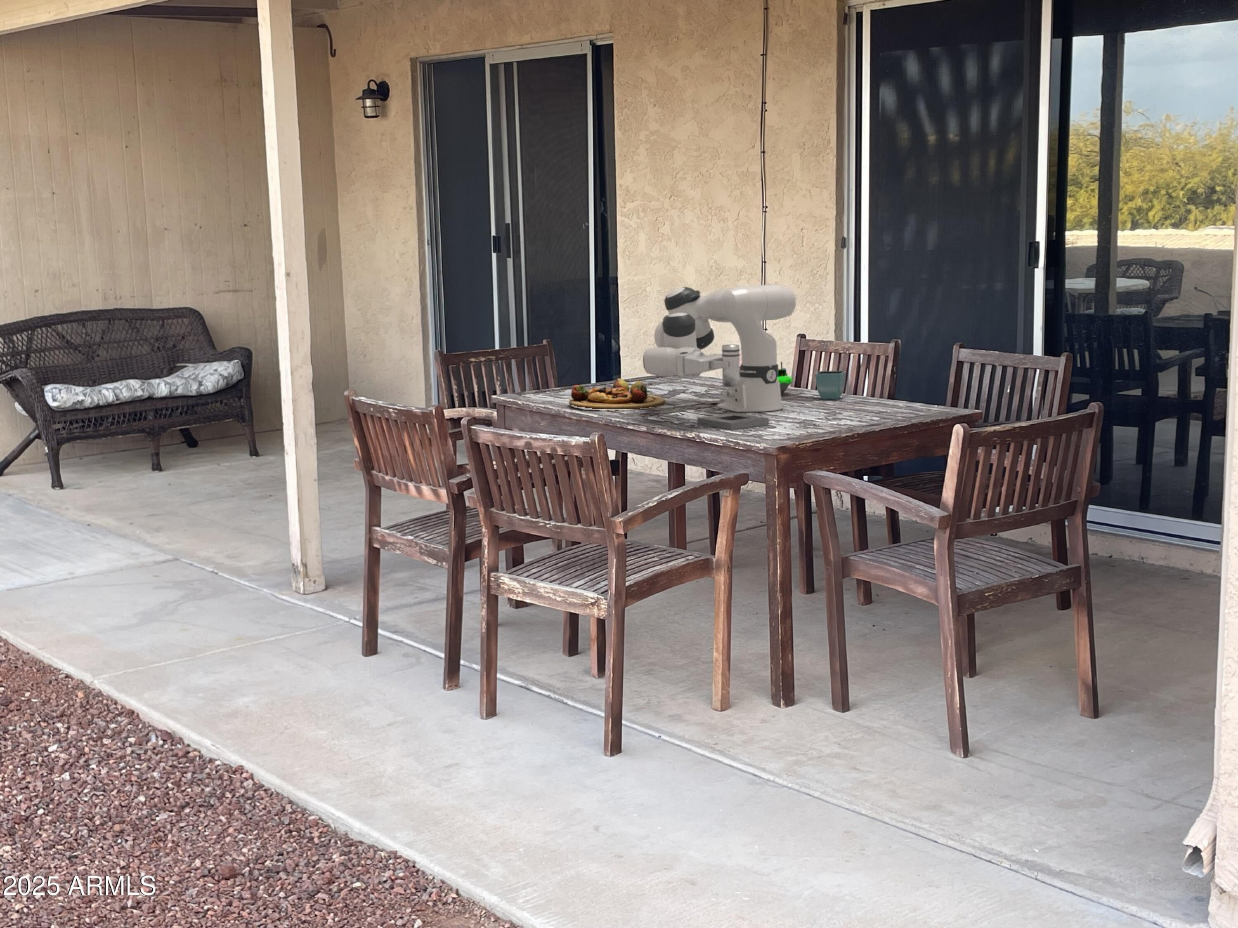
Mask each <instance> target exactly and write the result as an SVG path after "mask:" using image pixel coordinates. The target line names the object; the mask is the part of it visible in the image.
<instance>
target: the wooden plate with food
mask: <svg viewBox="0 0 1238 928" xmlns="http://www.w3.org/2000/svg"><path fill="white" fill-rule="evenodd" d="M570 392H571V393H570V394H571V399H570V400H569V401H568V404H570V405H574V406H577V407H585V408H592V409H640V408H649V407H655V408H658V406H659V407H661V405H662V406H663V405H665V403H666V401H665V398H663V397H662V396H658V395H653V394H649V393H648V389H647V386H646V385H645V383H643V382H642V381H640V380H636V382H633V383H632V385H631V386H629V384H628V383H627V381H625V380H623V379H622V378H617V379H616V380H615V381H614V382H613V384H612V388H607V387H602V388H599V387H594V388H591V389H589V390H588V389H587V388H586V387H585V386H583V385H581V384H580V385H579V384H575V385H574V386H573V387H572V389H571V391H570ZM570 405H569V406H570ZM649 409H650V408H649Z"/></svg>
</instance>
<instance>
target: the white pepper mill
mask: <svg viewBox="0 0 1238 928" xmlns="http://www.w3.org/2000/svg"><path fill="white" fill-rule="evenodd" d="M721 346H722V347H721V354H722V361H729V363H730V364H729V365H730V366H729V367H728V368H721V369H722V387H723V388H727V387H739V386H740V366H741V365H740V357H741V354H740V351H741V348H740V344H731V343H730V344H722V345H721Z"/></svg>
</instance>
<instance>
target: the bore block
mask: <svg viewBox="0 0 1238 928" xmlns="http://www.w3.org/2000/svg"><path fill="white" fill-rule="evenodd" d="M769 419H770V418H769V417H764V416H756V415H750V414H745V413H744V414H743V413H739V412H731V413H724V414H716V415H710V416H701V417H697V422H696V423H697V425H699V426H704V427H711V428H717V429H722V430H723V429H724V430H730V431H732V430H733V431H734V430H740V429H750V428H756V427H762V426H769V425H770V424H769V422H770V421H769Z"/></svg>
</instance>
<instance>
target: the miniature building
mask: <svg viewBox="0 0 1238 928" xmlns="http://www.w3.org/2000/svg"><path fill="white" fill-rule="evenodd" d="M777 379H778V381H779V383H780V391H781V395H782V394H784V393H785V392H786V391H787V389H788V388H789V387H790V385H791V384H792V381H793V378H792V377H791V376H788V372H787V369H786V368H785V367H783V361H780V368H779V371H778V376H777Z"/></svg>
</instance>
